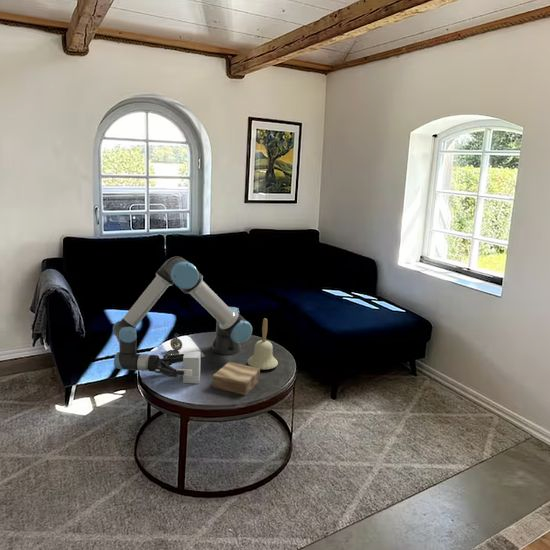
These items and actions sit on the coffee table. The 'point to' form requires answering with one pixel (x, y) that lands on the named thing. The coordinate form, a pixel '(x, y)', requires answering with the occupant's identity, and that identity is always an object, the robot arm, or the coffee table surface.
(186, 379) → the supplement box
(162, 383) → the coffee table surface
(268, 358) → the handbell
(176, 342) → the pocket watch
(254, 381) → the walnut stand
